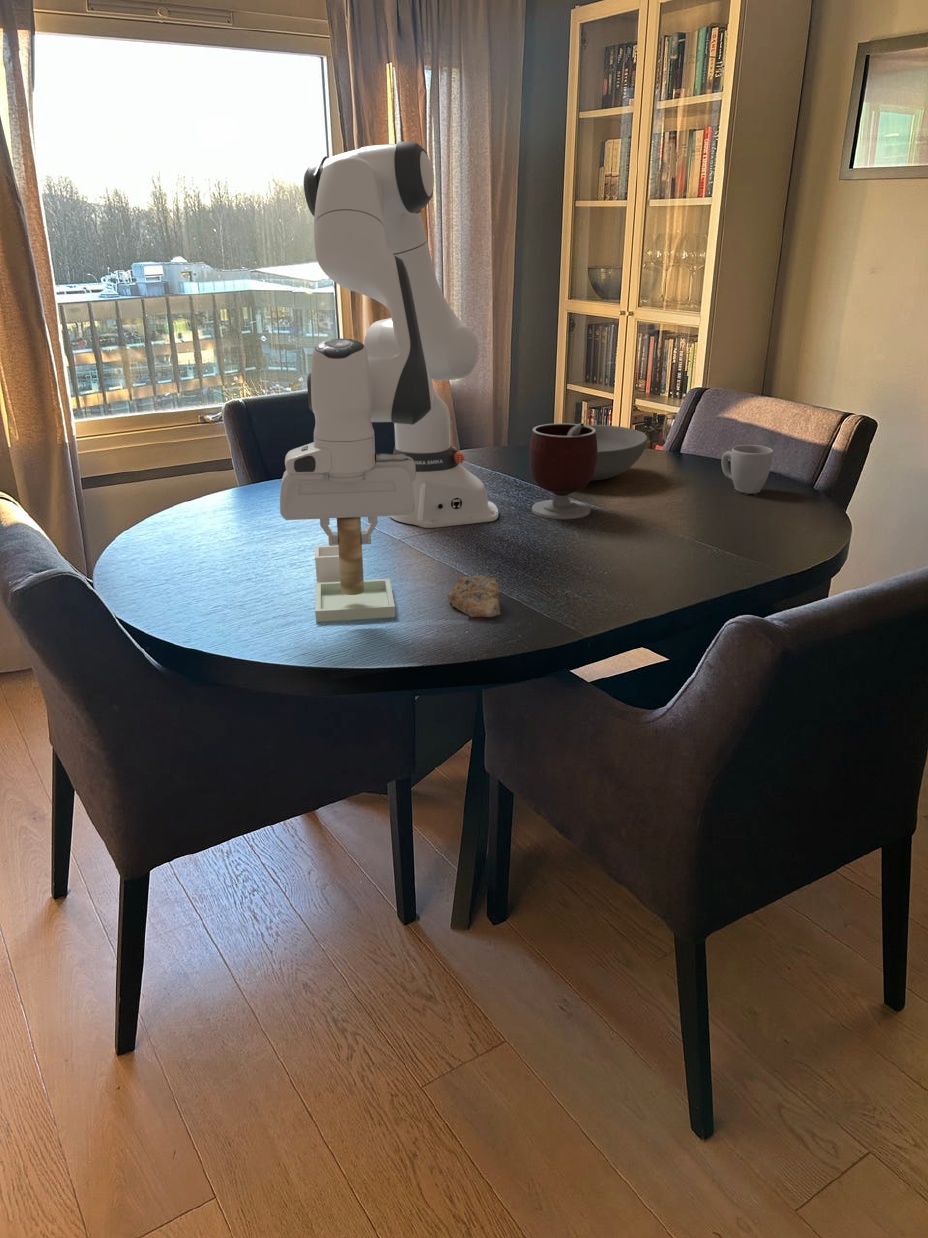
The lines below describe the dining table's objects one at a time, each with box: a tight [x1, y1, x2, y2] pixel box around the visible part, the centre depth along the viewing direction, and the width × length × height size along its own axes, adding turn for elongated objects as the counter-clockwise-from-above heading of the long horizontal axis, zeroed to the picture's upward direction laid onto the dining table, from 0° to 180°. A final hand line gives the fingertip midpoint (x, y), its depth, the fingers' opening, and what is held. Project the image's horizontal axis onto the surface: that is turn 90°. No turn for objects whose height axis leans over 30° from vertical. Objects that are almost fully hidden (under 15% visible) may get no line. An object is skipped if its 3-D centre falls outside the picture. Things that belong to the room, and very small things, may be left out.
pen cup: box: [314, 545, 340, 583], centre depth 154 cm, size 6×6×6 cm
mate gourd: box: [528, 422, 597, 520], centre depth 189 cm, size 16×14×20 cm
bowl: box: [585, 424, 649, 482], centre depth 217 cm, size 26×26×10 cm
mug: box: [720, 444, 774, 493], centre depth 205 cm, size 12×9×10 cm
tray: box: [314, 578, 396, 623], centre depth 144 cm, size 12×12×2 cm
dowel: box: [336, 517, 365, 595], centre depth 141 cm, size 4×4×12 cm
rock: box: [447, 574, 501, 618], centre depth 144 cm, size 9×6×10 cm
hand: (349, 544), depth 141 cm, fingers closed on dowel, 4 cm apart
